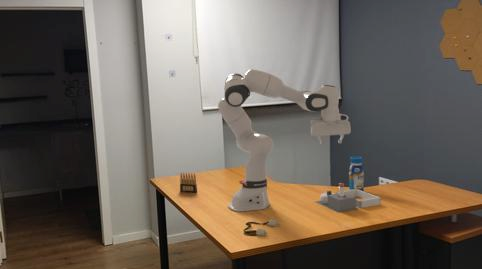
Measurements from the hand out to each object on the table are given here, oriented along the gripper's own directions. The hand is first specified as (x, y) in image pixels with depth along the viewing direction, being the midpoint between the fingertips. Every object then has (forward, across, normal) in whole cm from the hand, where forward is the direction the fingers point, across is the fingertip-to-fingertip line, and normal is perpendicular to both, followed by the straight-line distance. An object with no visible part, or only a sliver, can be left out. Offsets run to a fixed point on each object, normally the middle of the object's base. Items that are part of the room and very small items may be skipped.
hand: (330, 143), depth 238 cm
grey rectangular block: (+33, +1, -3) cm, 33 cm away
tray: (+34, +14, +2) cm, 36 cm away
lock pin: (+32, +3, -8) cm, 33 cm away
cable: (+33, -42, -27) cm, 60 cm away
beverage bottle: (+34, +22, +26) cm, 48 cm away
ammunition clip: (+32, -76, +46) cm, 94 cm away
